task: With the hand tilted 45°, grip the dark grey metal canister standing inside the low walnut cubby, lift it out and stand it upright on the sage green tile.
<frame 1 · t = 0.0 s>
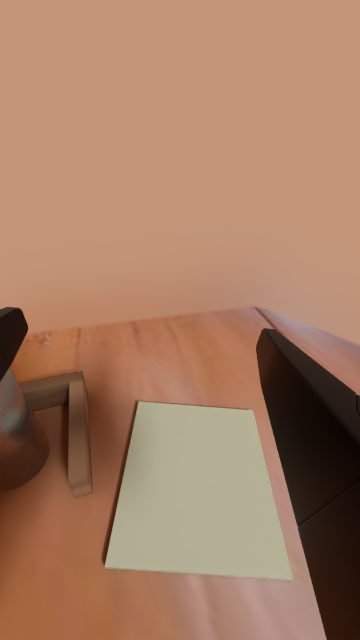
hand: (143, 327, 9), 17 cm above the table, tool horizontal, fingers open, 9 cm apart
cubby: (19, 458, 20), on the table
tile: (196, 471, 20), on the table
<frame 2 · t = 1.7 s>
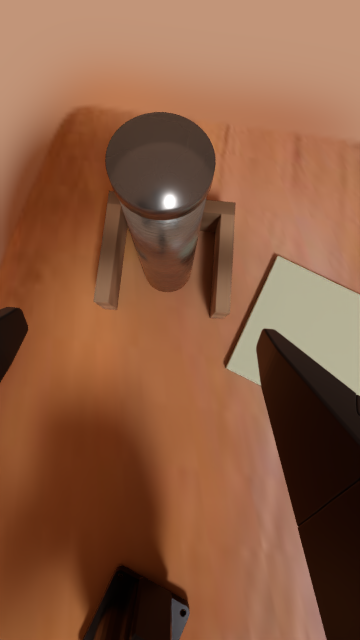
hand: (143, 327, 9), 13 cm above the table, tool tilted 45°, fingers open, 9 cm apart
cubby: (167, 269, 23), on the table
tile: (309, 338, 22), on the table
canister: (165, 235, 16), in the cubby
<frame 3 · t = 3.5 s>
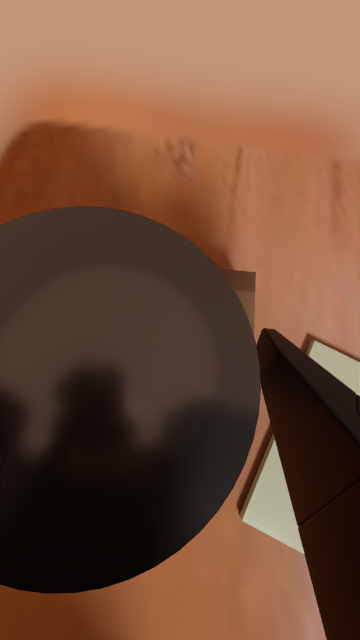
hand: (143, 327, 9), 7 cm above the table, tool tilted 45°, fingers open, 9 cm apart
cubby: (154, 360, 16), on the table
canister: (142, 362, 9), in the cubby
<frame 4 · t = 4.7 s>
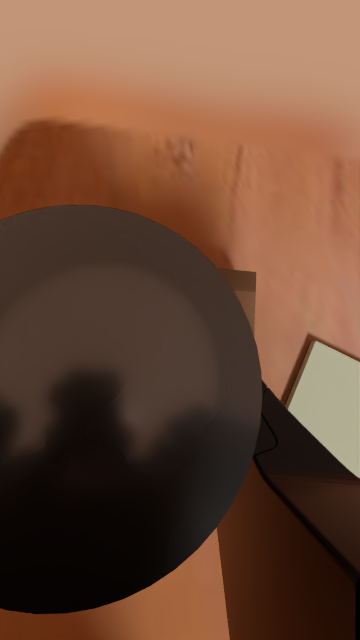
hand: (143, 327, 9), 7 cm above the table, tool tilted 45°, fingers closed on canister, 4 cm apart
cubby: (154, 360, 16), on the table
canister: (141, 364, 9), in the cubby, touching gripper
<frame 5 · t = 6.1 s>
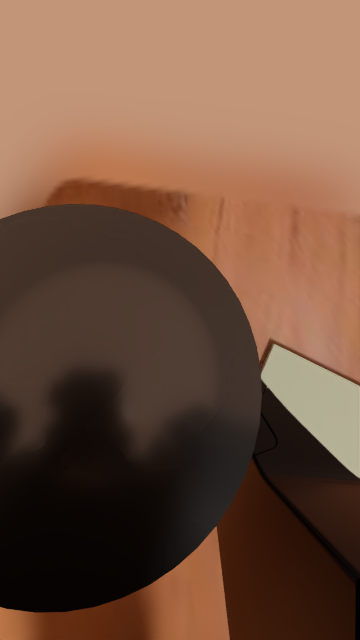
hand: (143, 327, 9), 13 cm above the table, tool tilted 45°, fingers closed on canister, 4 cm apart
tile: (306, 433, 21), on the table
canister: (141, 363, 9), point 13 cm above the table, touching gripper
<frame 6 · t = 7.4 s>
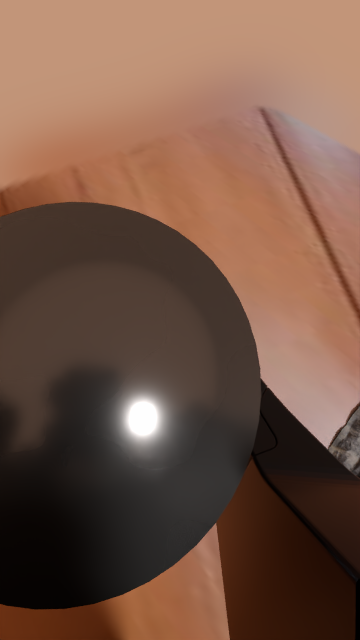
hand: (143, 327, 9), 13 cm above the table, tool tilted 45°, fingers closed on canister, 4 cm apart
canister: (141, 363, 9), point 13 cm above the table, touching gripper
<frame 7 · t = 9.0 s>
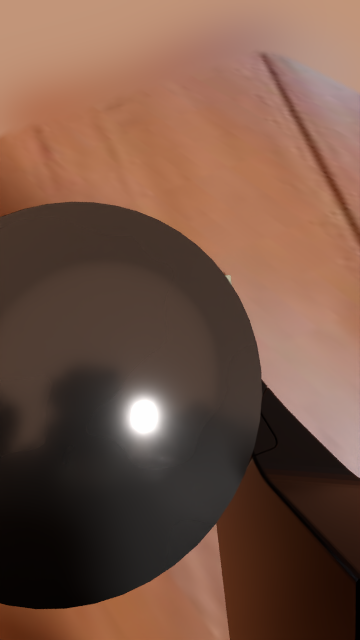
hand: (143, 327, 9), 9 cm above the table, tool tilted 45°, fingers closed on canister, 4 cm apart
canister: (141, 363, 9), point 8 cm above the table, touching gripper
when the fingers open (9 cm above the table, at t = 9.3 s): canister drops 1 cm, resting on tile.
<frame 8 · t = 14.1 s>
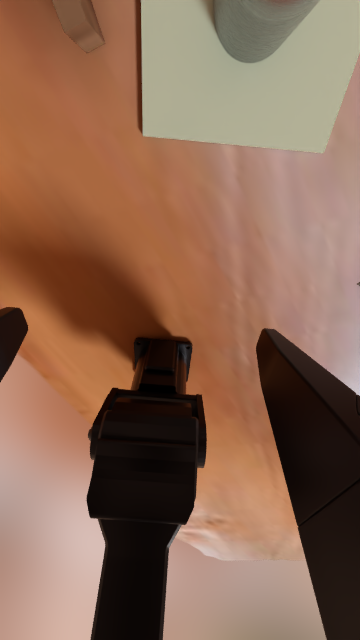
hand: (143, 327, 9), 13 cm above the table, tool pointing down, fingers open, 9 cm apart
tile: (256, 2, 12), on the table
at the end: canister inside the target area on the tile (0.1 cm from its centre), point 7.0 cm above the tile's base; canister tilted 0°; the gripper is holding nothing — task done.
